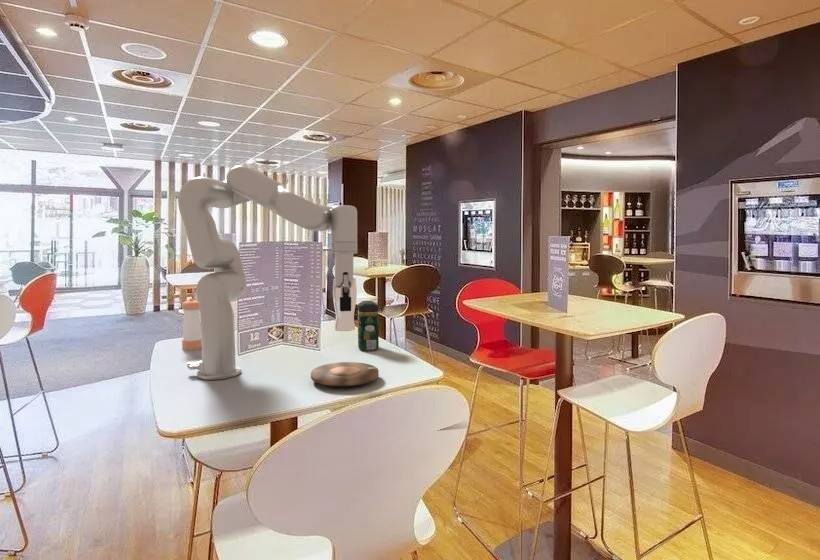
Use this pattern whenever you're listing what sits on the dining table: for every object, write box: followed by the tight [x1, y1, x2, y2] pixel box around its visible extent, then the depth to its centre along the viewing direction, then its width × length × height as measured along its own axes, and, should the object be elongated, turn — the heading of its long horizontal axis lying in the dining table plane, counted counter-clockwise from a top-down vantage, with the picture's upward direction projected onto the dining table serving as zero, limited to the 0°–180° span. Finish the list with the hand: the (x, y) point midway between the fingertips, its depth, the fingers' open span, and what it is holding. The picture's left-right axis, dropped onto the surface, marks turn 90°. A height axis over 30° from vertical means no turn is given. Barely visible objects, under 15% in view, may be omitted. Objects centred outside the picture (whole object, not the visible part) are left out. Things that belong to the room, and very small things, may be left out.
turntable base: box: [322, 383, 367, 389], centre depth 135 cm, size 14×14×2 cm
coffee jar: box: [357, 300, 380, 352], centre depth 173 cm, size 10×8×19 cm
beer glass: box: [332, 277, 358, 332], centre depth 133 cm, size 7×7×15 cm
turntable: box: [310, 361, 380, 386], centre depth 135 cm, size 20×20×2 cm
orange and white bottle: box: [180, 298, 202, 351], centre depth 172 cm, size 7×7×19 cm
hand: (344, 308), depth 133 cm, fingers closed on beer glass, 6 cm apart
